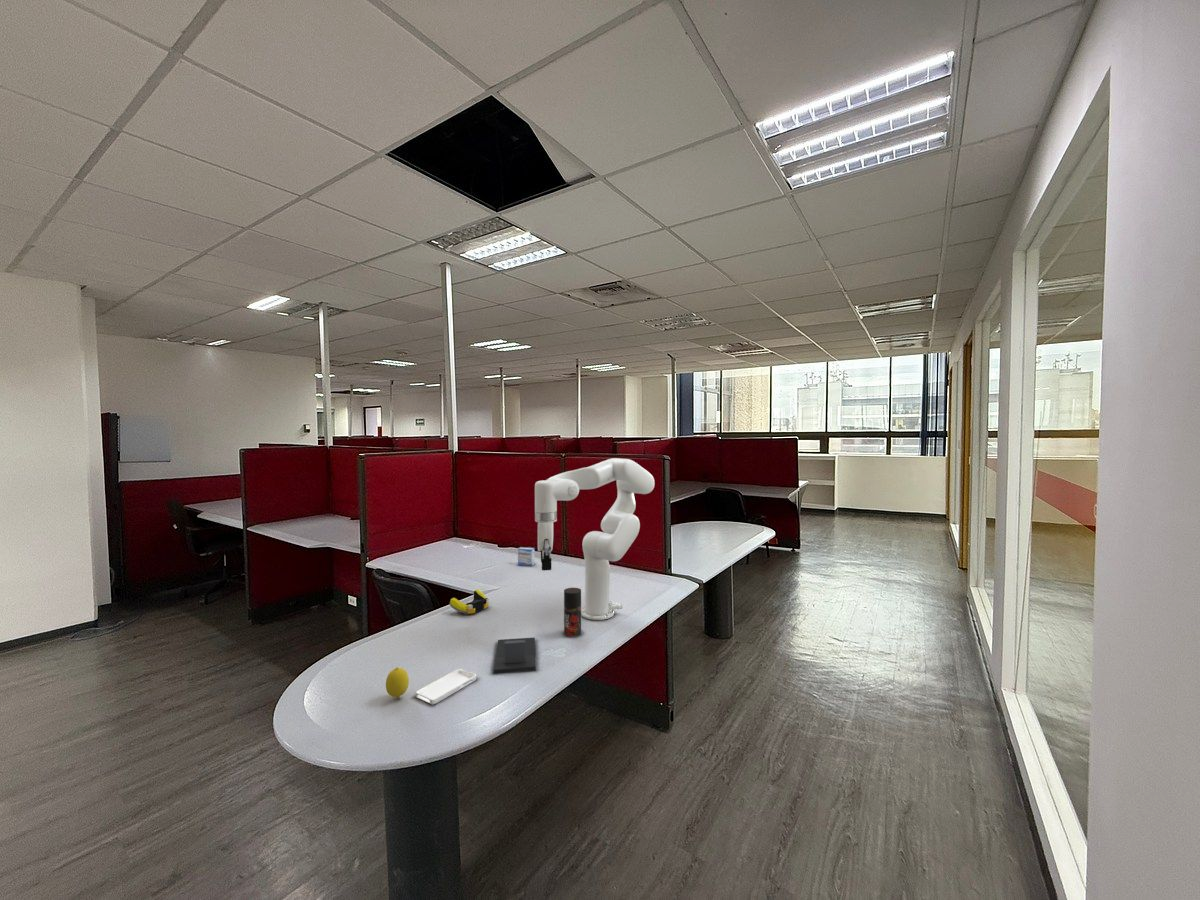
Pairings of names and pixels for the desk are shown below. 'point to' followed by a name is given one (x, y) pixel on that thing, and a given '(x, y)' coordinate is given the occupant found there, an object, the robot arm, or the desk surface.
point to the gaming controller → (471, 604)
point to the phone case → (445, 686)
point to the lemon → (397, 682)
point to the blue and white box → (526, 556)
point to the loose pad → (514, 665)
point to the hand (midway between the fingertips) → (546, 566)
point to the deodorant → (572, 612)
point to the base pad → (528, 641)
